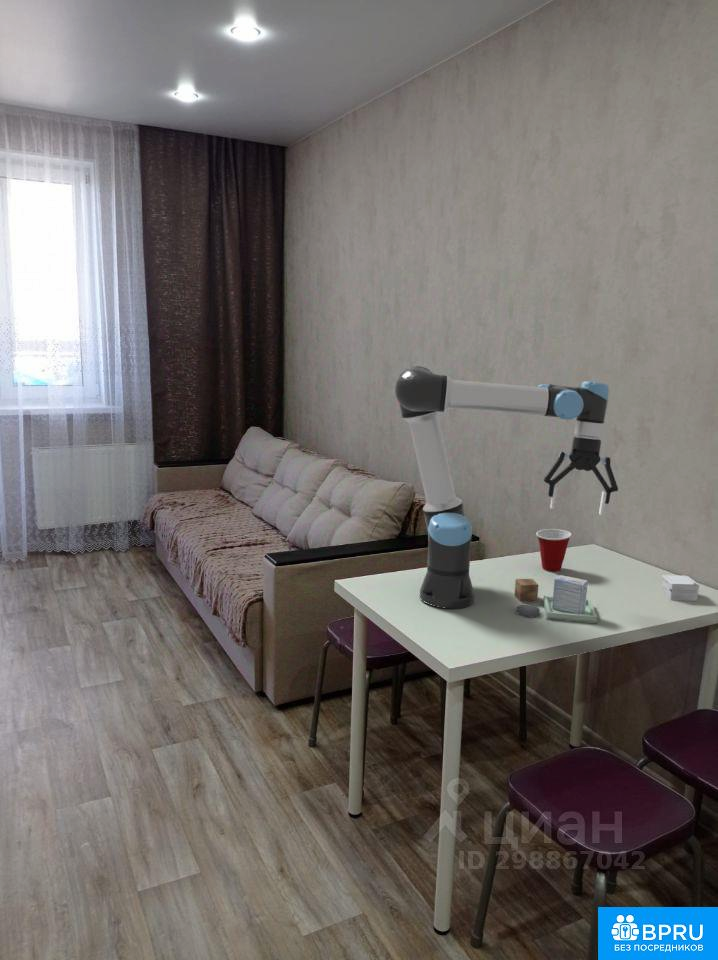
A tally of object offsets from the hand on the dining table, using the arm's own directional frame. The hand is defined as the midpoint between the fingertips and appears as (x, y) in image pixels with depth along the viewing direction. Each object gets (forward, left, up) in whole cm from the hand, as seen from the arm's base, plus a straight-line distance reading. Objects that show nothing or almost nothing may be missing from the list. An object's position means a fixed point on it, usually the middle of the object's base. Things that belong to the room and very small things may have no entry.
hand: (576, 511), depth 207 cm
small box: (+31, +5, -25) cm, 40 cm away
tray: (-2, -16, -24) cm, 29 cm away
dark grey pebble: (-13, -19, -24) cm, 34 cm away
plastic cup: (-3, +20, -24) cm, 32 cm away
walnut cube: (-13, -8, -24) cm, 29 cm away
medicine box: (-2, -16, -24) cm, 29 cm away
